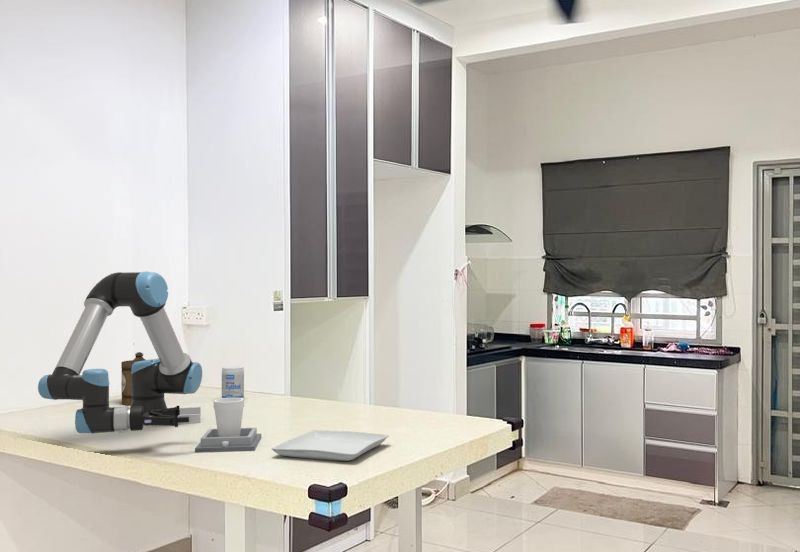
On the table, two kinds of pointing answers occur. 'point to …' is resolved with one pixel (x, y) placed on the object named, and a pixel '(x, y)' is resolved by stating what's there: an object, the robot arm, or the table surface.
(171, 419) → the robot arm
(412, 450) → the table surface
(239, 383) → the supplement tub
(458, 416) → the table surface
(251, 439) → the tray
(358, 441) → the square plate
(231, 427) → the foam cup
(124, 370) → the wooden container
